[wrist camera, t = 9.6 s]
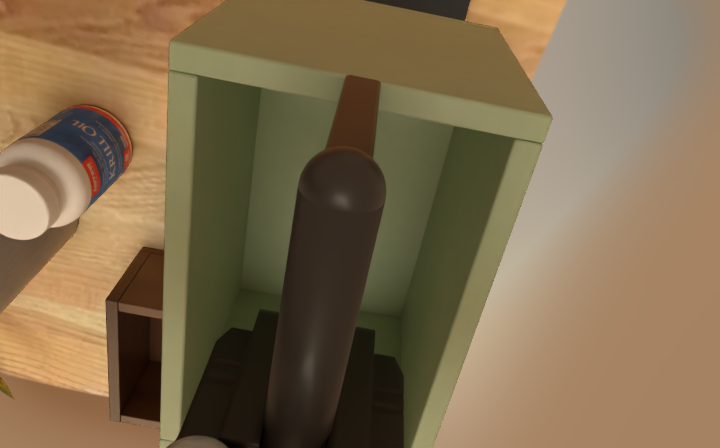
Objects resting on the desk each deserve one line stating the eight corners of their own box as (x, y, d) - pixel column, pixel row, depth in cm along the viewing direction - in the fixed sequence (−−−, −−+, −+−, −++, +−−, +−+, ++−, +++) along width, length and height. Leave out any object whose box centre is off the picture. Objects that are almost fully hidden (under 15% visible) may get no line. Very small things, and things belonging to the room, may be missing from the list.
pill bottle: (150, 157, 41) (84, 231, 33) (91, 189, 43) (13, 267, 34) (97, 87, 39) (12, 146, 30) (36, 123, 40) (-61, 190, 32)
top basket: (257, -33, 18) (33, 109, 7) (501, 17, 19) (646, 228, 8) (227, 295, 25) (83, 639, 14) (410, 329, 25) (416, 692, 14)
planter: (89, 209, 43) (8, 296, 35) (64, 250, 45) (-19, 342, 36) (30, 173, 42) (-70, 253, 33) (7, 216, 44) (-94, 303, 35)
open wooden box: (142, 359, 50) (109, 420, 45) (142, 246, 45) (105, 299, 39) (326, 393, 51) (317, 457, 45) (350, 285, 45) (342, 343, 40)
